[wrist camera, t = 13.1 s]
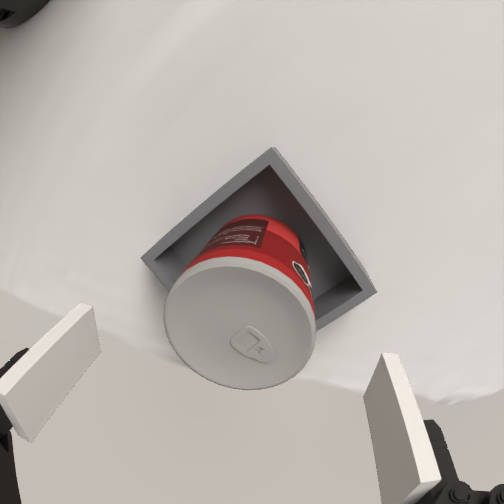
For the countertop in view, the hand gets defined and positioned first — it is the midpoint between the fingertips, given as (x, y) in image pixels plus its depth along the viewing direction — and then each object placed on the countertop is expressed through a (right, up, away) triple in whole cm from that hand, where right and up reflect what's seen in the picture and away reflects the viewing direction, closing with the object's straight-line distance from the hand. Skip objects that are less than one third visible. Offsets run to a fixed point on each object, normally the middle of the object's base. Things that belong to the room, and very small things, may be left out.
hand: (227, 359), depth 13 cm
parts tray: (+2, +4, +13) cm, 14 cm away
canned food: (+2, +4, +13) cm, 14 cm away
